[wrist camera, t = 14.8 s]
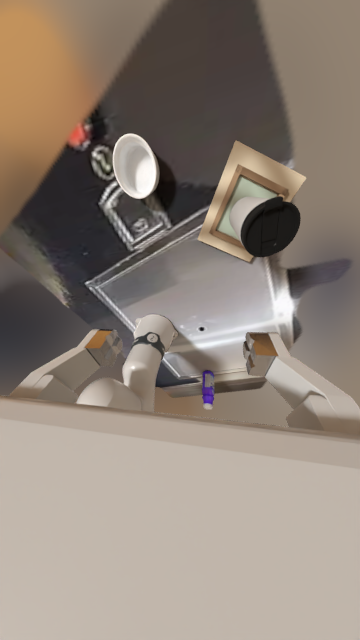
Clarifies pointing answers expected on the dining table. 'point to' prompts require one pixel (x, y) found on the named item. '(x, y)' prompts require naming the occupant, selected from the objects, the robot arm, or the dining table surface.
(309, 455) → the robot arm
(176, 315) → the dining table surface
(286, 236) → the travel mug
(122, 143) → the ramekin
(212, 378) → the bottle
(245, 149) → the board
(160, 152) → the dining table surface
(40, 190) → the dining table surface
